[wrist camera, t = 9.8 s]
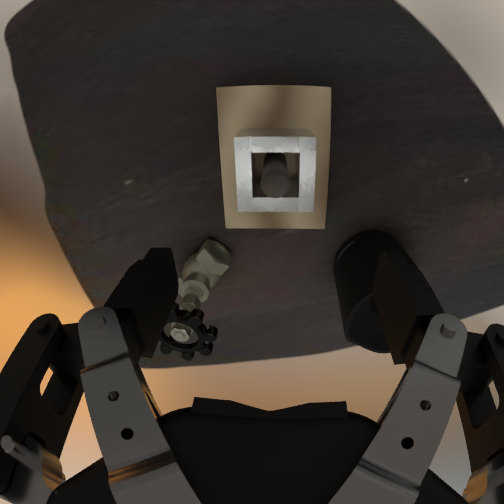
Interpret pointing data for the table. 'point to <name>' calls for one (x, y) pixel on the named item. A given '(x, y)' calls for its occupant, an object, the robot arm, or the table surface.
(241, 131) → the block
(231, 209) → the shaft stand
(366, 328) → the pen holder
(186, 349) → the valve
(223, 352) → the table surface
